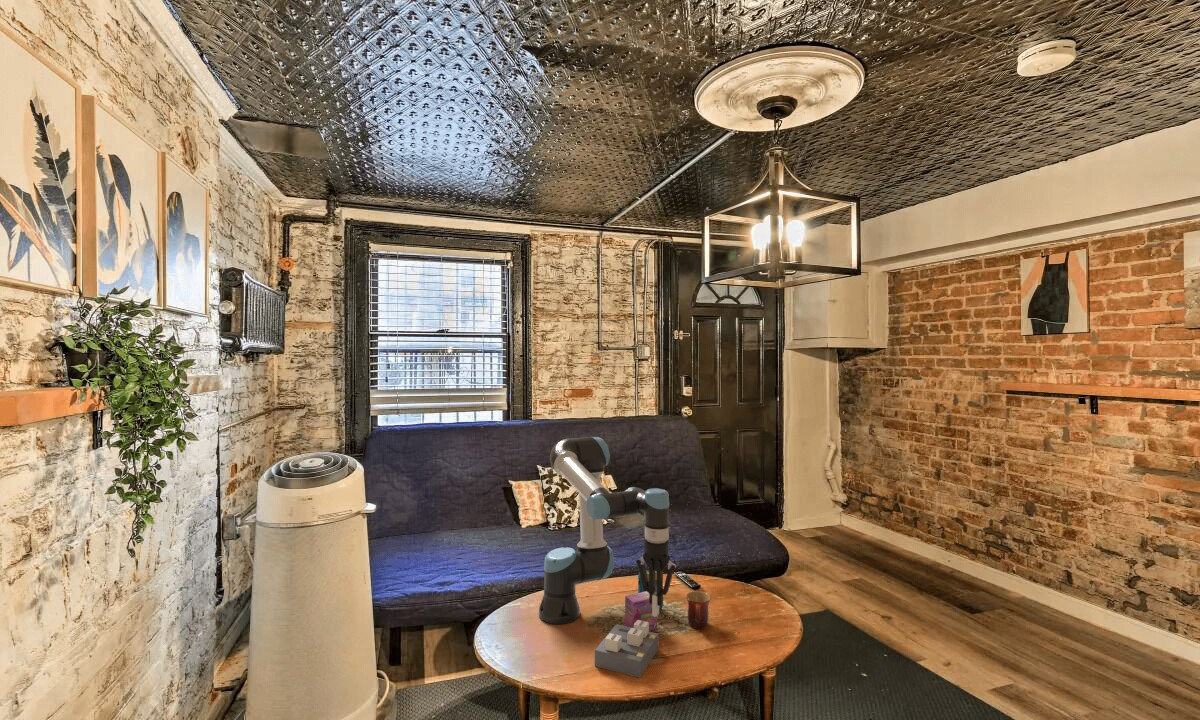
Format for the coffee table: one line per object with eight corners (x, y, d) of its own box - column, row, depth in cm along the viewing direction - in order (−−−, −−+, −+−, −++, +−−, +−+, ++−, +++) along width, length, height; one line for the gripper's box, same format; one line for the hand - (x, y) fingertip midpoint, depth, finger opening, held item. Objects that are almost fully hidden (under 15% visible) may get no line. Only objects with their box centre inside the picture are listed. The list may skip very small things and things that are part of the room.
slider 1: (605, 649, 171) (605, 637, 171) (609, 644, 174) (609, 632, 174) (617, 652, 169) (617, 640, 169) (621, 646, 173) (621, 634, 172)
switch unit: (594, 665, 171) (594, 649, 171) (616, 638, 188) (616, 623, 187) (640, 677, 165) (640, 660, 165) (658, 648, 182) (658, 633, 181)
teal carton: (660, 607, 211) (660, 568, 211) (664, 612, 207) (665, 572, 207) (636, 610, 208) (637, 571, 208) (640, 615, 204) (641, 575, 204)
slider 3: (627, 644, 174) (627, 632, 174) (631, 638, 178) (631, 627, 178) (639, 646, 173) (639, 634, 173) (642, 641, 176) (643, 629, 176)
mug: (686, 617, 203) (686, 590, 203) (710, 620, 202) (710, 592, 201) (684, 633, 192) (685, 604, 191) (710, 636, 190) (710, 607, 190)
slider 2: (633, 635, 180) (633, 623, 180) (637, 630, 183) (637, 618, 183) (645, 637, 178) (645, 626, 178) (648, 632, 182) (648, 621, 182)
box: (632, 636, 190) (633, 601, 189) (624, 628, 195) (624, 595, 194) (657, 629, 194) (658, 596, 194) (649, 622, 199) (649, 589, 199)
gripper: (632, 540, 171) (632, 615, 171) (673, 546, 166) (672, 624, 166) (640, 533, 178) (639, 605, 178) (679, 538, 173) (679, 613, 173)
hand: (655, 614), depth 172 cm, fingers closed
